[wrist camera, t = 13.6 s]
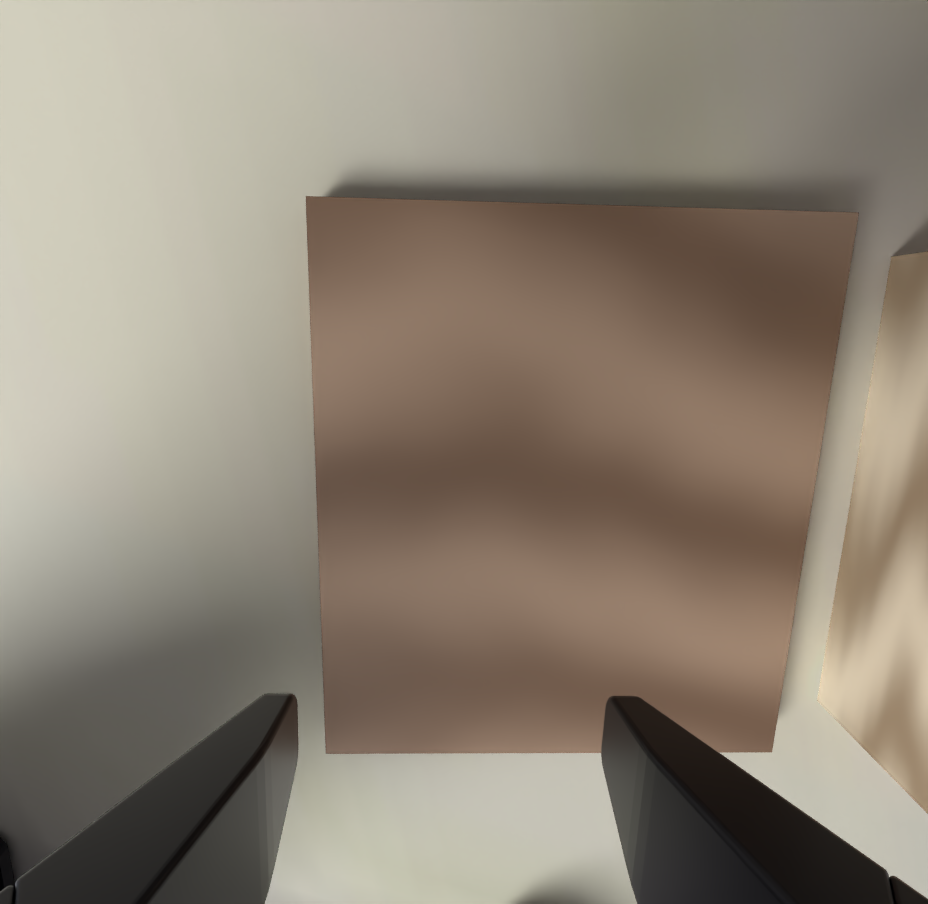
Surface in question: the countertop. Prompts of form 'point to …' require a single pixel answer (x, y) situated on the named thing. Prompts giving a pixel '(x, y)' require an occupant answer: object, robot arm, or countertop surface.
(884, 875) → the robot arm
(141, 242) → the countertop surface
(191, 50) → the countertop surface
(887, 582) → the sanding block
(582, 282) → the walnut board
